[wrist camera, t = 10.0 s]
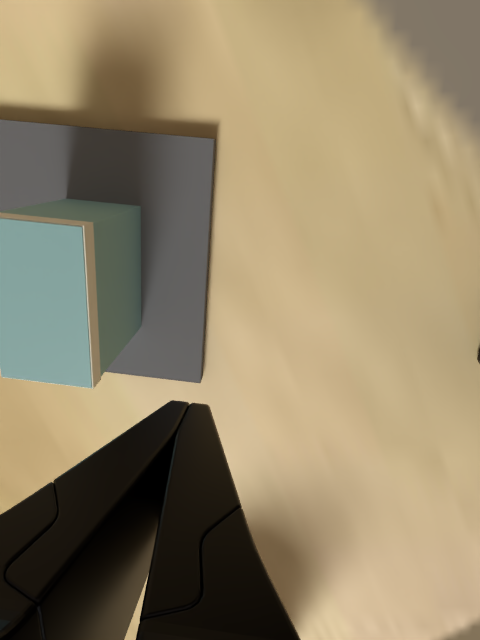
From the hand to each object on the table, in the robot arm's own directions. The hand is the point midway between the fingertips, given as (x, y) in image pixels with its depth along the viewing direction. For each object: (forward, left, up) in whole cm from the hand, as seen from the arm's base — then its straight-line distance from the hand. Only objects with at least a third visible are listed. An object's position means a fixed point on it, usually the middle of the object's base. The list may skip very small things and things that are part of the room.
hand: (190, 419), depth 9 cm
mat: (+10, 0, -12) cm, 15 cm away
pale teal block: (+7, 0, -11) cm, 13 cm away
